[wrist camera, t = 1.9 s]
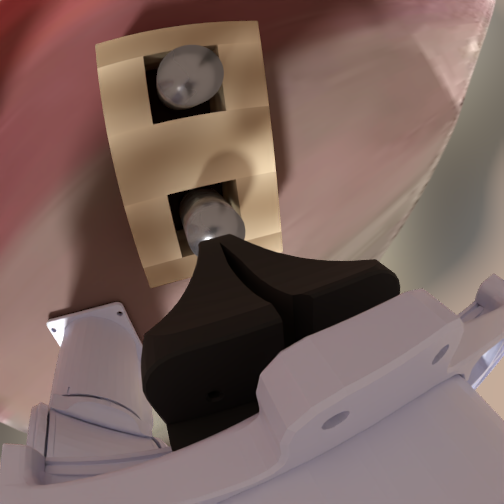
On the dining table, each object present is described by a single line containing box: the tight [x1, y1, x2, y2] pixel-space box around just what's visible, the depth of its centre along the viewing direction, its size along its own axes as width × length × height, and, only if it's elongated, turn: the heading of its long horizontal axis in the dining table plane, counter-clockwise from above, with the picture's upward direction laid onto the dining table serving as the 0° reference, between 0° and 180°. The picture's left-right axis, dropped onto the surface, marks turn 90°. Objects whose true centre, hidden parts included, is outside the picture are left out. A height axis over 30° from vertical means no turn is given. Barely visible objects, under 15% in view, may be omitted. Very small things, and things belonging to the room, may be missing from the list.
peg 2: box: [179, 187, 246, 257], centre depth 16 cm, size 3×3×4 cm
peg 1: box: [156, 45, 224, 110], centre depth 12 cm, size 3×3×4 cm
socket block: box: [95, 21, 283, 288], centre depth 16 cm, size 15×9×4 cm, turn 6°
